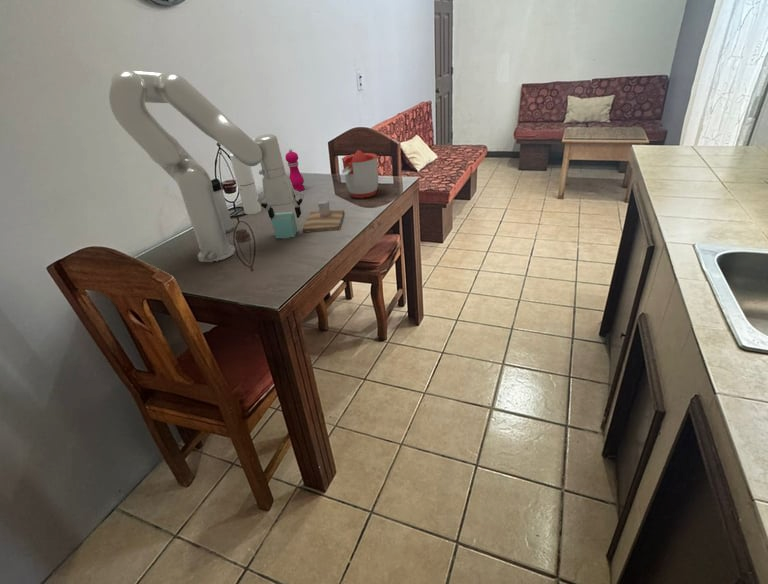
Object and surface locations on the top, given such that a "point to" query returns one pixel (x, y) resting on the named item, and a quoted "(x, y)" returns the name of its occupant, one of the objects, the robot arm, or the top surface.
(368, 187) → the citrus juicer
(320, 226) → the board
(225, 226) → the travel mug
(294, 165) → the pepper mill
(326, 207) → the block
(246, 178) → the cylindrical container
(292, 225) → the mint green cube
